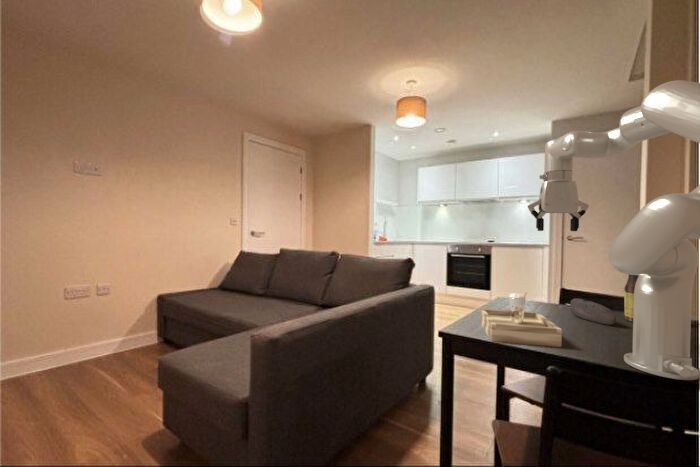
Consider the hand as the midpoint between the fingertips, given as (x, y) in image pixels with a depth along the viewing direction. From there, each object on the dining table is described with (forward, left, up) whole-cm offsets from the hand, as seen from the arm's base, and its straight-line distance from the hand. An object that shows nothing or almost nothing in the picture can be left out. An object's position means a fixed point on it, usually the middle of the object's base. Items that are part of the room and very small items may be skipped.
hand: (557, 230), depth 100 cm
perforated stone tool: (+14, -17, -32) cm, 40 cm away
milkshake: (-8, +13, -29) cm, 33 cm away
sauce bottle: (+18, -32, -32) cm, 49 cm away
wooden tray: (-8, +14, -33) cm, 36 cm away
